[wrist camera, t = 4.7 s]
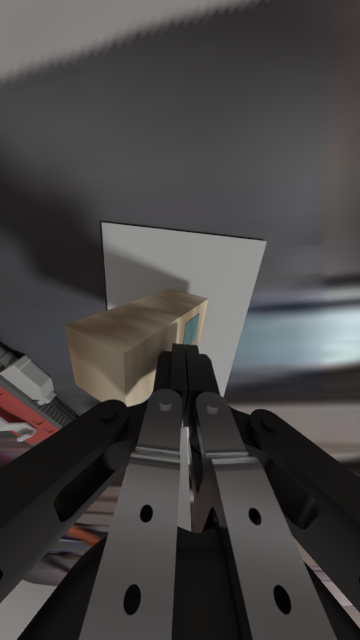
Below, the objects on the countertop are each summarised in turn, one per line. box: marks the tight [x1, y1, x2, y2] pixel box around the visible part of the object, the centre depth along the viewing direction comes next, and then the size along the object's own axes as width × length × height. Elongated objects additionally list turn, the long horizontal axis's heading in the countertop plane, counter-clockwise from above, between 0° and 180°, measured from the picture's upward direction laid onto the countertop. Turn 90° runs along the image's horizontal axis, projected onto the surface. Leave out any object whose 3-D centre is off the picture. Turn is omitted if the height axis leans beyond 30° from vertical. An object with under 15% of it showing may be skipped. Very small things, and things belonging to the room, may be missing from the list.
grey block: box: [177, 428, 191, 531], centre depth 22 cm, size 4×4×10 cm
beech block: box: [65, 289, 209, 407], centre depth 13 cm, size 4×4×10 cm
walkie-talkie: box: [0, 345, 76, 446], centre depth 21 cm, size 9×4×20 cm
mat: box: [102, 222, 267, 464], centre depth 22 cm, size 14×34×1 cm, turn 174°
